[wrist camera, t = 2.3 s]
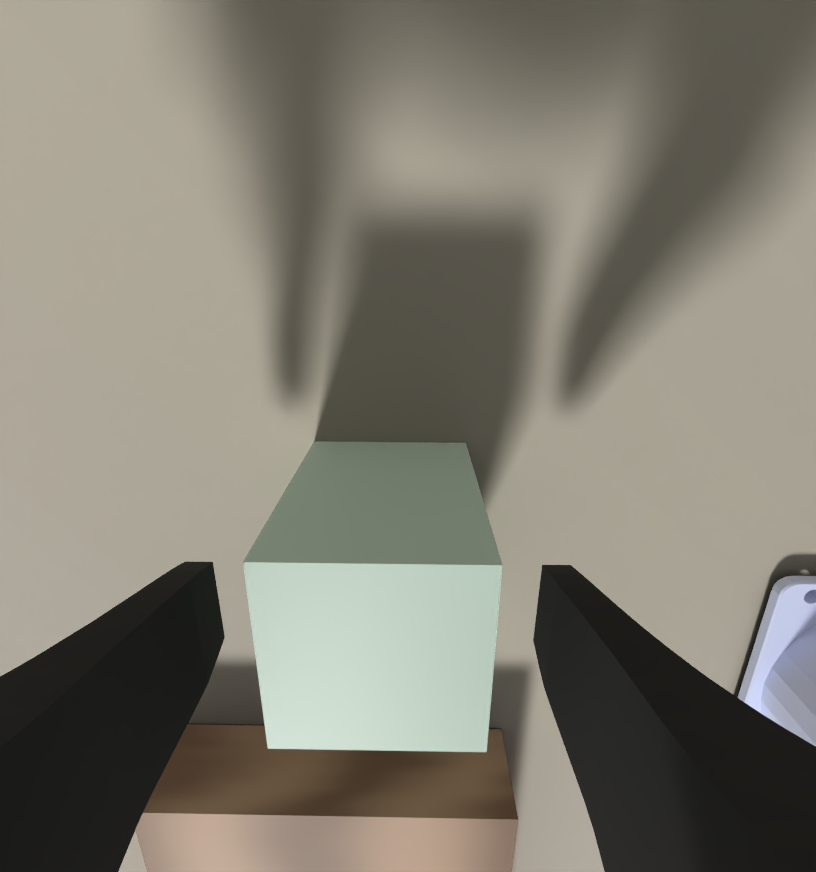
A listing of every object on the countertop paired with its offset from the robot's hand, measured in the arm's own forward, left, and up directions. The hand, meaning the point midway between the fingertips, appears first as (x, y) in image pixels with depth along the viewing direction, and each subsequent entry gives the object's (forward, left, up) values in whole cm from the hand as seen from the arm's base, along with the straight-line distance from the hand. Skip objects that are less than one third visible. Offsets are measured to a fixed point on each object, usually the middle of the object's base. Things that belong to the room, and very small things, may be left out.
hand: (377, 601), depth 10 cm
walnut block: (+2, +15, -4) cm, 16 cm away
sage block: (0, 0, -4) cm, 4 cm away
